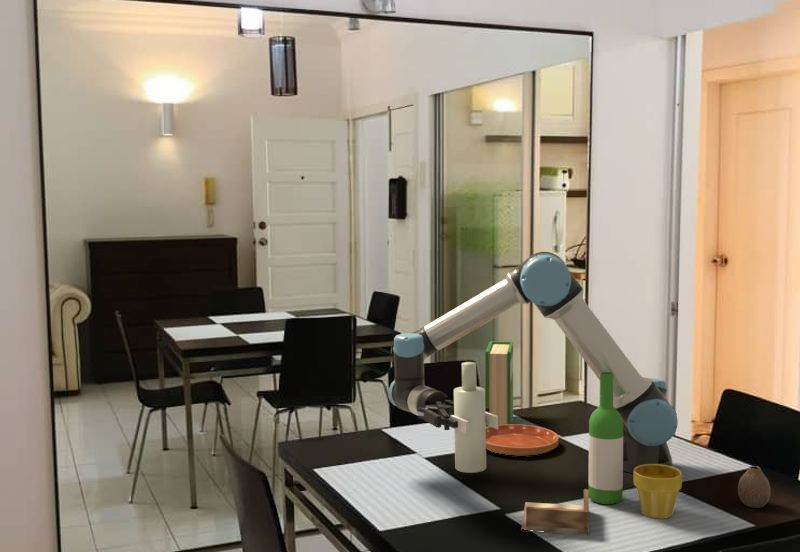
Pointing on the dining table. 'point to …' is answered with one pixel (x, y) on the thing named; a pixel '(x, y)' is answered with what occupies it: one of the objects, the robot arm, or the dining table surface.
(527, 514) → the dock
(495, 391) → the hardback book
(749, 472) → the vase
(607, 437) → the wine bottle
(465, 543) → the dining table surface
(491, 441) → the saucer
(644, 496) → the plant pot
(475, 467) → the bottle
